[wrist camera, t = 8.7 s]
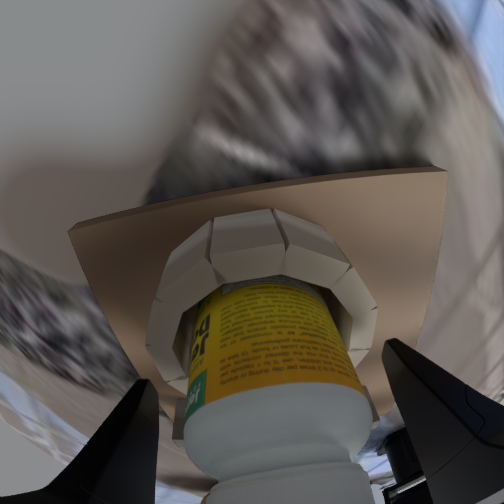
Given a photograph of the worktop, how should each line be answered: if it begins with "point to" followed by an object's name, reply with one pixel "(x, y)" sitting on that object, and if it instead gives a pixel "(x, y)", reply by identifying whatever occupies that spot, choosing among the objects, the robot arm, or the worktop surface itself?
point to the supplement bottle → (275, 398)
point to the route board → (270, 265)
